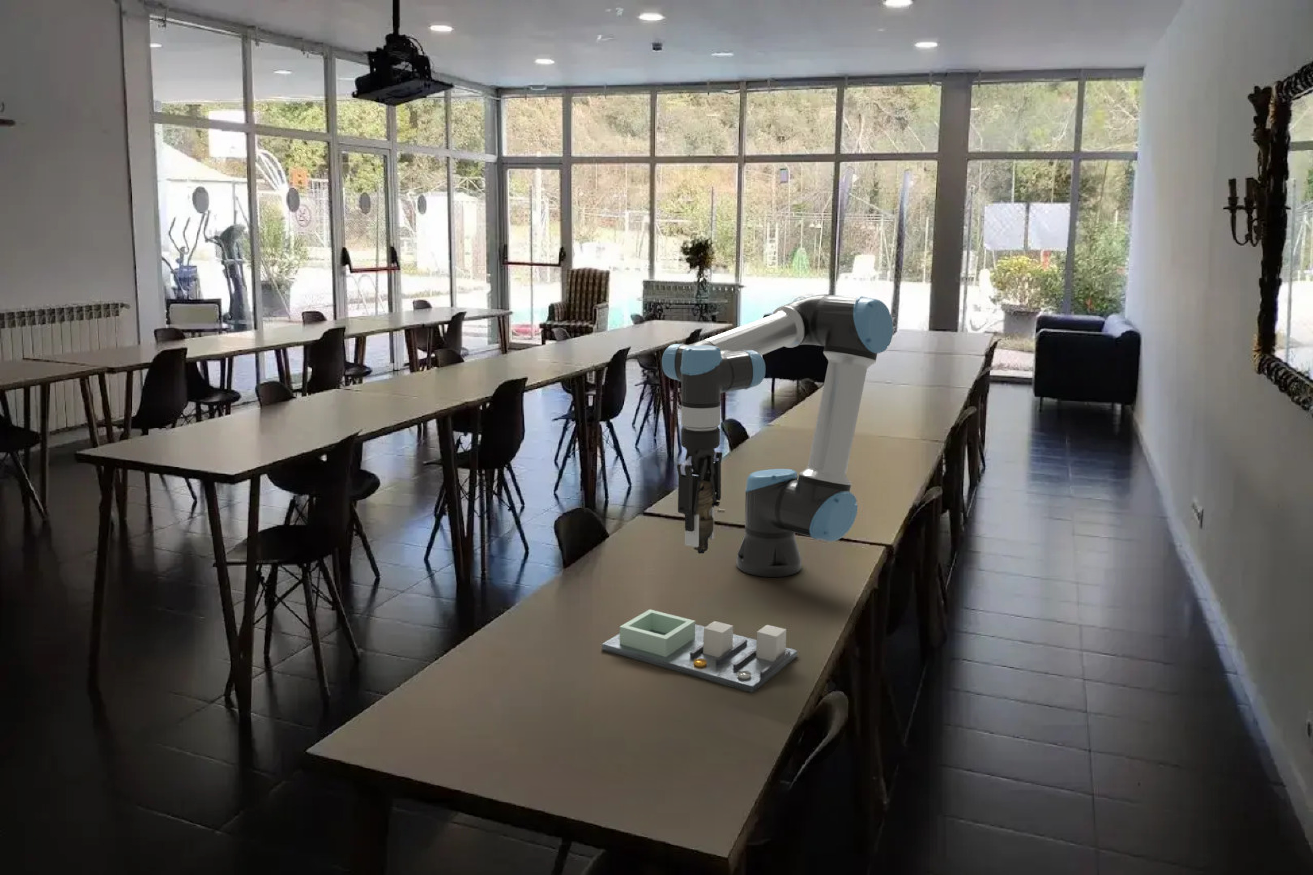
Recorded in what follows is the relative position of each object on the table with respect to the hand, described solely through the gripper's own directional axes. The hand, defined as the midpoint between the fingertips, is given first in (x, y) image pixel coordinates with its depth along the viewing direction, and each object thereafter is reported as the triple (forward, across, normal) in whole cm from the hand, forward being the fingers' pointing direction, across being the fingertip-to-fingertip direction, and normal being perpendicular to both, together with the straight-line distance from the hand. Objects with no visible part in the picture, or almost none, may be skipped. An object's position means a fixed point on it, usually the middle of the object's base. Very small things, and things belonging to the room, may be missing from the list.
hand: (699, 541), depth 201 cm
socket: (+16, +14, -1) cm, 21 cm away
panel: (+17, +12, +7) cm, 22 cm away
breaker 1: (+16, +12, +11) cm, 23 cm away
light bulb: (+2, 0, 0) cm, 2 cm away
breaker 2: (+16, +8, +20) cm, 27 cm away
